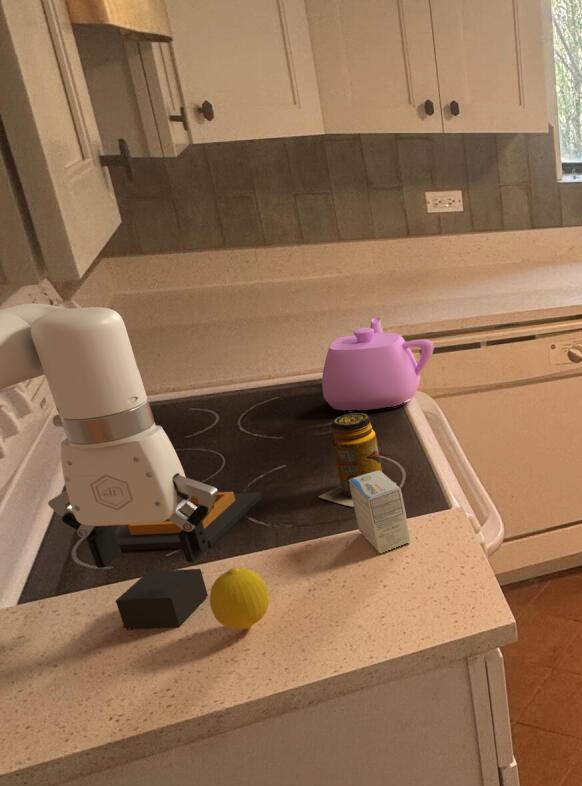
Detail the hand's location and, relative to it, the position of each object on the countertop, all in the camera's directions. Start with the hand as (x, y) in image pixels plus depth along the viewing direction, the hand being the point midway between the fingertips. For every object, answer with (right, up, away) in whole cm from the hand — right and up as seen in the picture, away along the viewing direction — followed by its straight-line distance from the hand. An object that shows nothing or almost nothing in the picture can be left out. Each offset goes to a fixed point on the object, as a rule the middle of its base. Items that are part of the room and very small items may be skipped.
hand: (154, 558), depth 90 cm
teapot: (-7, +17, +69) cm, 71 cm away
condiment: (+8, +4, +32) cm, 33 cm away
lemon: (+11, -8, 0) cm, 14 cm away
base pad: (-12, 0, +22) cm, 26 cm away
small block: (0, -7, +3) cm, 8 cm away
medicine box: (+18, -1, +18) cm, 26 cm away
